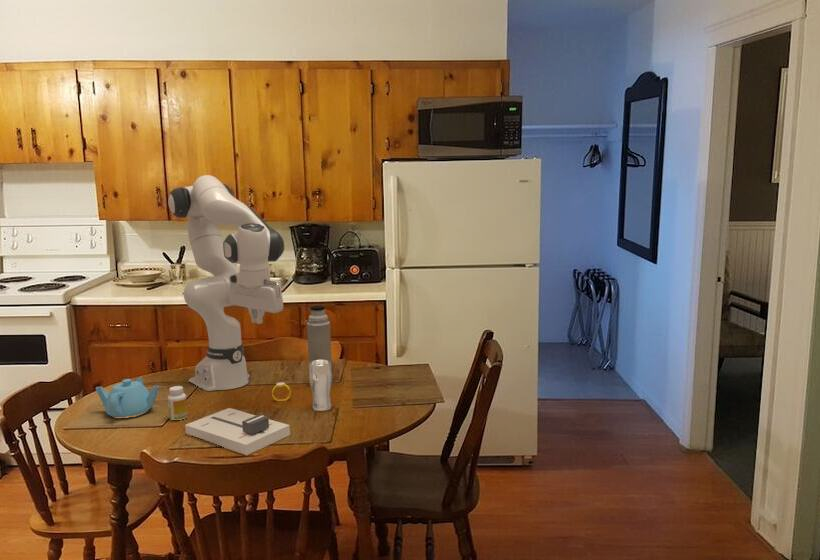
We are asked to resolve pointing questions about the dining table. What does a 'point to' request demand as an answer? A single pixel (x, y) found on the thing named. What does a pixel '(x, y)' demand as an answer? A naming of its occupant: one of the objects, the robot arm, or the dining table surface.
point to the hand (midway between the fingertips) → (257, 322)
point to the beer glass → (320, 384)
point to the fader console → (236, 431)
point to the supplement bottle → (177, 403)
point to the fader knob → (255, 424)
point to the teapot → (127, 398)
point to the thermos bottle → (319, 335)
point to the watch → (281, 386)
